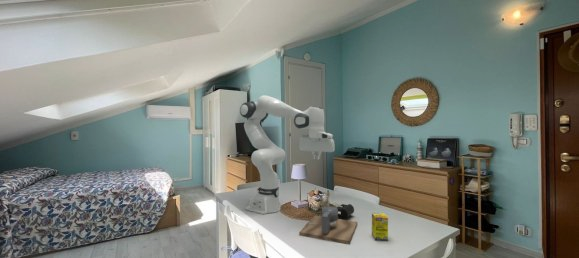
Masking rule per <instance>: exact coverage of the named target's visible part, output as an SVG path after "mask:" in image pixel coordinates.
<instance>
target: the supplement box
mask: <svg viewBox="0 0 579 258" xmlns="http://www.w3.org/2000/svg"><path fill="white" fill-rule="evenodd" d="M371 236H372V237H373V239H374V241H386V242H387V241H389V217H388V216H387V215H386V213H384V212H383V213H379V212H378V213H377V212H372V213H371Z"/></svg>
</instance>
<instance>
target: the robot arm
mask: <svg viewBox="0 0 579 258" xmlns="http://www.w3.org/2000/svg"><path fill="white" fill-rule="evenodd" d="M239 113H240V115H241V117H242V118H244V119H246V121H244V123H243V127H244V131H245V134H246V137H247V138H248V139H249V142H250V143H251V145H252V147H254V148H255V149H257V150H255V151H253V152H252V154H251V163H252V164H253V166H255V168H257V170H258V173H259V178H260V179H259V180H260V187H257V189H256V191H257V193H256V194H255V195H254V196H252V197H251V198H250V200H249V204H248V205H246V206H245V211H249V212H252V213H257V214H259V215H260V214H261V215H265V214H273V213H277V212H280V211H281V210H282V208H281V205H280V197H279V195H280V190H279V189H280V188H279V175H278V173H277V172H275V170H274V169H273V166H274V165H279V164H281V163H282V162H284V161H285V160H286V155H287V153H286V152H285V150H284V149H283V148H282V147H279V146H277V144H275V143H274V142H273V141H272V139H270V138H269V137H268V135H267V134H266V132H265V130H264V129H263V127H262V126H261V123H264V122H265V120H267V118H268V117H269V116H272V117H277V118H290V119H293V124H294V126H295V128H297V129H300V130H308V134H301V135H300V136H299V149H298V150H300V151H301V152H311V154H312V156H313V160H315V161H316V160H318V161H319V160H320V158H321V155H322V153H333V152H335V151H336V149H335V147H336V145H335V140H334V139H333V137H334V135H333V133H329V132H326V131H325V112H324V109H323V108H322V107H321V106H315V105H311V106H309V108H307V109H305V110H303V111H302V110H300V109H297V108H295V107H293V106H291V105H289V104H287V103H285V102H284V101H282V100H280V99H278V98H275V97H274V96H273V97H272V96H269V95H266V94H264V95H263V94H262V95H261V96H259V97H258V99H257V100H256V101H254V100H252V101H247V102H243V103H241V106H240V108H239ZM316 153H317V154H318V155H316Z"/></svg>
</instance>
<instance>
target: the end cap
mask: <svg viewBox="0 0 579 258" xmlns="http://www.w3.org/2000/svg"><path fill="white" fill-rule="evenodd" d="M336 208H337V209H338V219H342V220H347V218H349V217H350V216H351V215H353V214H354V212H355V207H354V205H352V204H351V203H348V204H345V203H344V204H343V203H342V204H341V205H340V206H337V207H336ZM339 212H340V213H339Z"/></svg>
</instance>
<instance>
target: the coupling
mask: <svg viewBox="0 0 579 258" xmlns="http://www.w3.org/2000/svg"><path fill="white" fill-rule="evenodd" d="M338 213H339V212H338V209H337V207H336V206H331V205H330V206H329V205H327V206H323V207H321V216H322V233H325V234H327V233H328V231H329V229H330V222H332V221H337V220H338Z"/></svg>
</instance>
